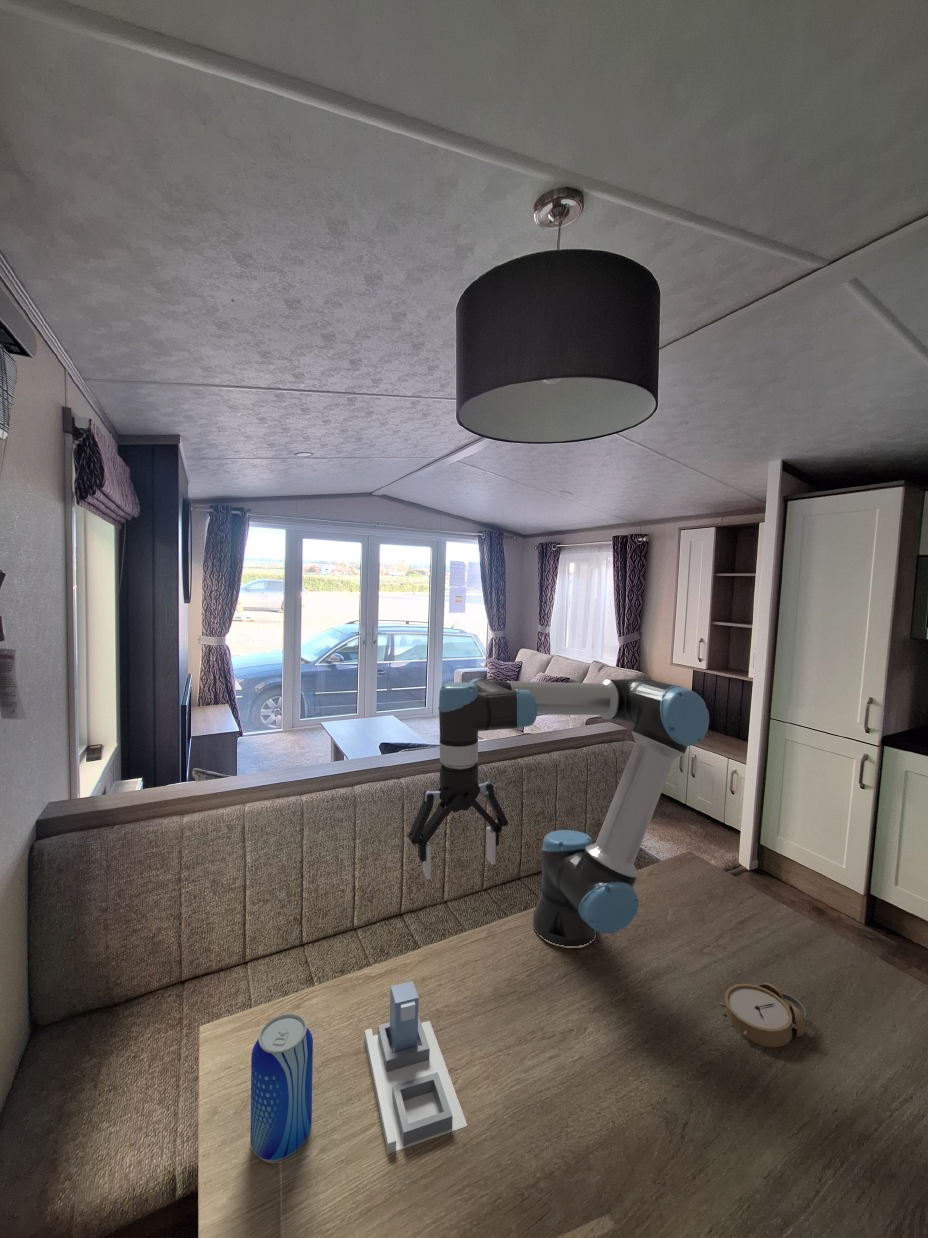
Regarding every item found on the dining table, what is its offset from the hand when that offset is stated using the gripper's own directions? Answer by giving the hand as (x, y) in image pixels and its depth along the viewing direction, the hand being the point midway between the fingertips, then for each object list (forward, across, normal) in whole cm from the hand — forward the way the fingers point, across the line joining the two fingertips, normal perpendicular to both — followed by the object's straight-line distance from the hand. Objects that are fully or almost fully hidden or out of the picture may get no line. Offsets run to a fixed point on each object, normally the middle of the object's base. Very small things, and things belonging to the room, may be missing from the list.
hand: (459, 868), depth 101 cm
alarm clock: (+29, -52, +26) cm, 65 cm away
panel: (+26, +14, +15) cm, 33 cm away
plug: (+24, +14, +9) cm, 30 cm away
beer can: (+25, +35, +16) cm, 46 cm away
